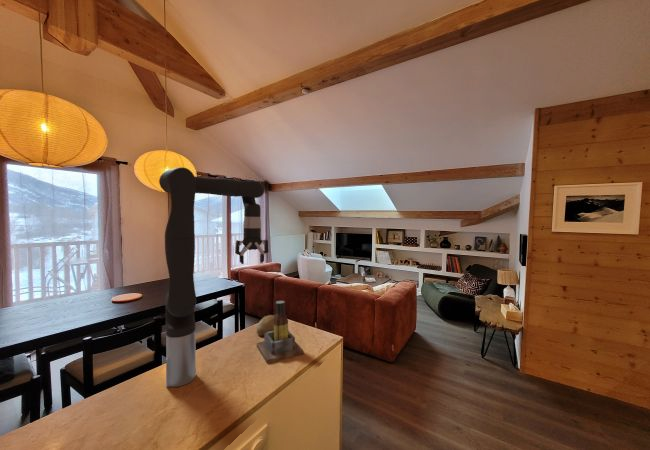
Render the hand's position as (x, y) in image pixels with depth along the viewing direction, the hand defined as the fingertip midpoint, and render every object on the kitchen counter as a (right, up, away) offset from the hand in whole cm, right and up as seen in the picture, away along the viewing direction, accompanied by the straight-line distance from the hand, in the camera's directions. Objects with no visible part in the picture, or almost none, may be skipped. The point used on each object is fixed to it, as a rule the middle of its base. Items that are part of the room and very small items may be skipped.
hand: (252, 263), depth 117 cm
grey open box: (+13, -38, -2) cm, 40 cm away
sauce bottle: (+13, -37, -1) cm, 39 cm away
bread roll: (+5, -38, +17) cm, 42 cm away
